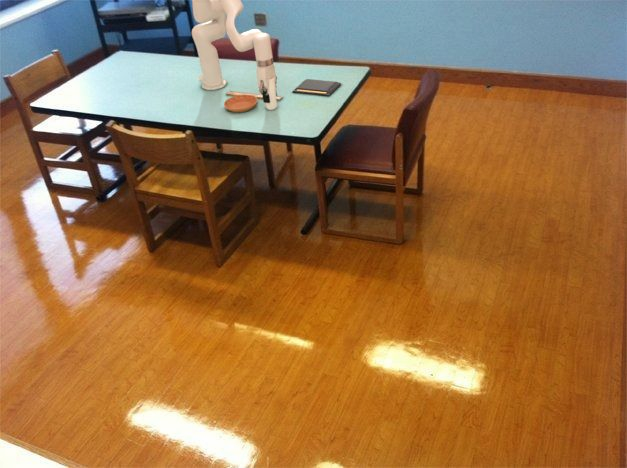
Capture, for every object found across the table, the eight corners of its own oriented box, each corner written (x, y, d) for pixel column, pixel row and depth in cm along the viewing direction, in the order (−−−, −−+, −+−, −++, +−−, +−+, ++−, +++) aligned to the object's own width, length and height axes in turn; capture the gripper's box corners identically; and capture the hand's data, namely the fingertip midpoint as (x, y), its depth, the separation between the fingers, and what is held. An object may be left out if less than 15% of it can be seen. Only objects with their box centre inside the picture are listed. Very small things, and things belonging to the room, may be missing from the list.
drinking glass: (276, 110, 277) (272, 80, 268) (262, 111, 279) (258, 80, 270) (280, 104, 283) (276, 74, 274) (266, 104, 284) (261, 74, 275)
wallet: (341, 80, 293) (328, 93, 283) (342, 84, 295) (328, 97, 284) (305, 76, 302) (291, 88, 291) (306, 80, 303) (291, 92, 292)
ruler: (226, 94, 298) (226, 93, 297) (229, 92, 300) (229, 90, 300) (279, 100, 286) (279, 99, 286) (282, 98, 288) (282, 96, 288)
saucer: (237, 98, 293) (236, 92, 292) (264, 102, 286) (263, 96, 285) (218, 111, 283) (217, 106, 281) (246, 116, 276) (244, 110, 274)
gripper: (266, 54, 275) (272, 91, 286) (248, 68, 263) (254, 106, 274) (281, 55, 272) (286, 92, 283) (262, 69, 260) (268, 108, 271)
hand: (270, 99), depth 278 cm, fingers closed on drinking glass, 6 cm apart
